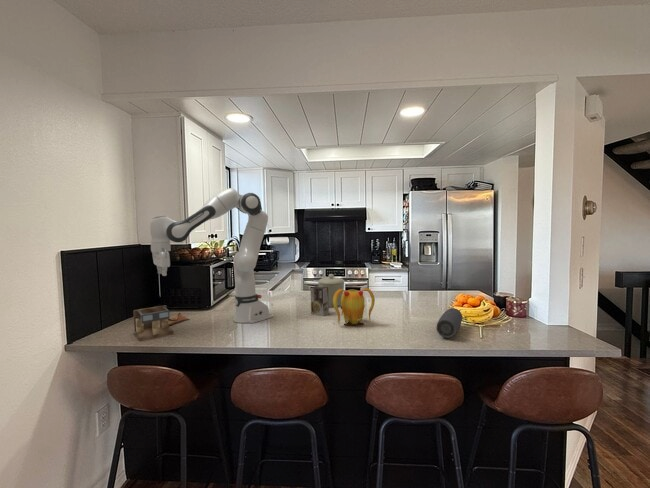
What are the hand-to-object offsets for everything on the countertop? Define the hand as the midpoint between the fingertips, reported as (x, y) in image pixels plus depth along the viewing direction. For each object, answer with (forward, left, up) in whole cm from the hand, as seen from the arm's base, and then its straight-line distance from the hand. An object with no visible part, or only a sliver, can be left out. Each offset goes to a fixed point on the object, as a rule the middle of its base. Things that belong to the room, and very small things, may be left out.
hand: (162, 274), depth 161 cm
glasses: (+5, +4, -21) cm, 22 cm away
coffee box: (-78, +32, -29) cm, 89 cm away
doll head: (-79, +59, -29) cm, 103 cm away
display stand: (+5, +2, -29) cm, 30 cm away
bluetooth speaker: (-103, +101, -29) cm, 147 cm away
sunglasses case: (-6, -11, -30) cm, 32 cm away
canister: (-96, +22, -29) cm, 103 cm away
